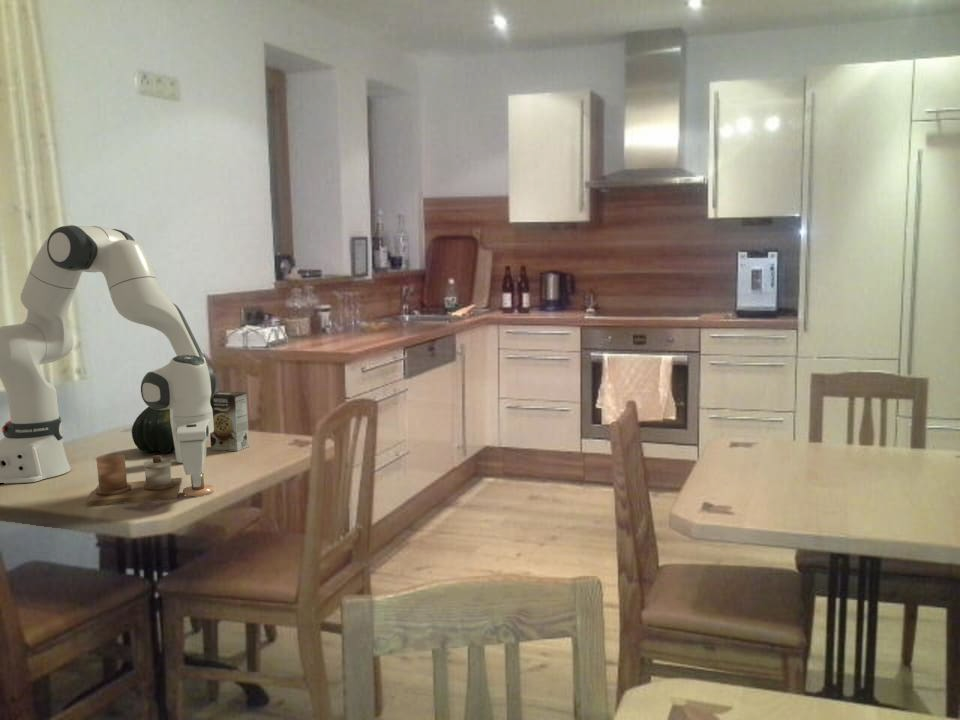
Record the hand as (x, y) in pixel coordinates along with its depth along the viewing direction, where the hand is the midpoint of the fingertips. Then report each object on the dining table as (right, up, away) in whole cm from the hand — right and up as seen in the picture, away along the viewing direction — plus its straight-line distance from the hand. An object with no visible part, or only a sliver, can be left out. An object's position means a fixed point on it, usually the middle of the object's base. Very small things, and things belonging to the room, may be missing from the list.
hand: (197, 483), depth 201 cm
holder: (-15, -2, +1) cm, 15 cm away
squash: (-25, +3, +44) cm, 51 cm away
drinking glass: (-13, +1, +31) cm, 33 cm away
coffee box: (-5, +3, +45) cm, 45 cm away
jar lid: (0, -2, 0) cm, 2 cm away
